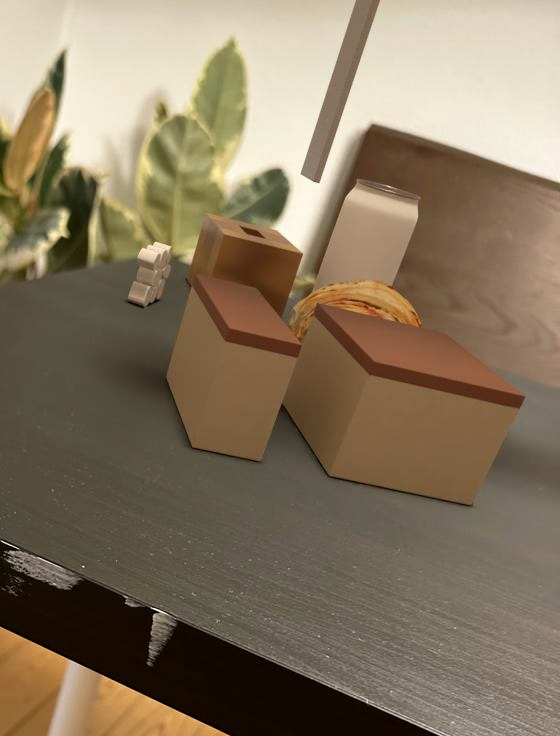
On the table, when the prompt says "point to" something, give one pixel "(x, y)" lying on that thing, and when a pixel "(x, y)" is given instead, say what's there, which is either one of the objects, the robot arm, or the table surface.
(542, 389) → the table surface
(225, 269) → the knife block
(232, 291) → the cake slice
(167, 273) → the marshmallow
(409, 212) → the can
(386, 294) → the croissant
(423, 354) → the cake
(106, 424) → the table surface
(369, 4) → the knife
